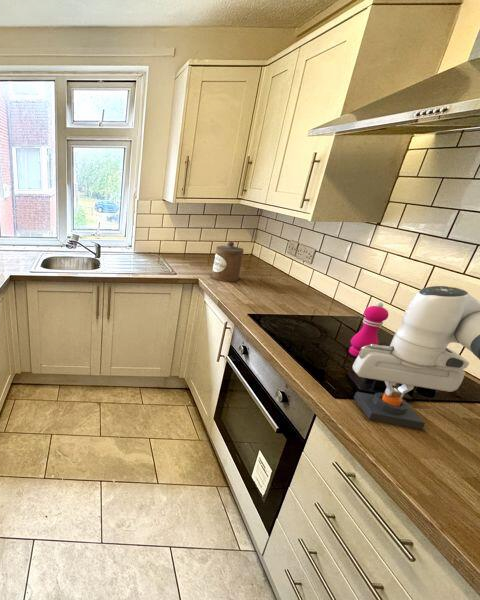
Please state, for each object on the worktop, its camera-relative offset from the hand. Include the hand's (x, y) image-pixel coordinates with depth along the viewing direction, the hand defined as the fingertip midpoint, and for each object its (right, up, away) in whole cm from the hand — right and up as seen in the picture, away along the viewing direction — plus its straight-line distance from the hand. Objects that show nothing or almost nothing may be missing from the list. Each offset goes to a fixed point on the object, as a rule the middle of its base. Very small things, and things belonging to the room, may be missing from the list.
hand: (393, 395), depth 82 cm
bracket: (+7, -1, +12) cm, 14 cm away
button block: (0, -5, +2) cm, 6 cm away
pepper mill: (+17, +6, +29) cm, 34 cm away
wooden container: (+6, +38, +109) cm, 115 cm away
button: (0, -2, +1) cm, 2 cm away
